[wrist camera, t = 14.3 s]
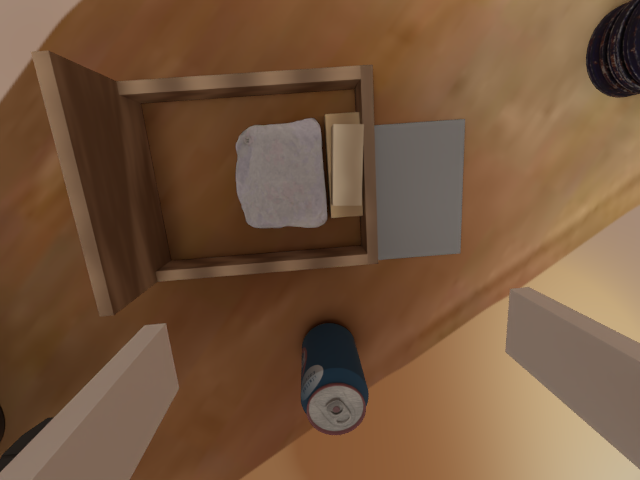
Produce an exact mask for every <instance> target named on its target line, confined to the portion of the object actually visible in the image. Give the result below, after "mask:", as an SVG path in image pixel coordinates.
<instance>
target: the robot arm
mask: <svg viewBox="0 0 640 480" xmlns="http://www.w3.org/2000/svg"><path fill="white" fill-rule="evenodd" d="M506 353H507V354H509V355H510V356H511V357H512V358H513V359H514V360H515V361H516V362H518V363H519V364H520V365H521V366H522V367H523V368H525V369H526V370H527V371H528V372H529V373H530V374H531V375H533V376H534V377H535V378H536V379H537V380H538V381H539V382H541V383H542V384H543V385H544V386H545V387H546V388H548V390H550V391H551V392H552V393H553V394H554V395H555V396H557V397H558V398H559V399H560V400H561V401H562V402H563V403H565V404H566V405H567V406H568V407H569V408H570V409H571V410H573V411H574V412H575V413H576V414H577V415H578V416H579V417H581V418H582V419H583V420H584V421H585V422H586V423H587V424H589V425H590V426H591V427H592V428H593V429H594V430H595V431H597V432H598V433H599V434H600V435H601V436H602V437H604V438H605V439H606V440H607V441H608V442H609V443H610V444H611V445H613V446H614V447H615V448H616V449H617V450H618V451H619V452H621V453H622V454H623V455H624V456H625V457H626V458H627V459H629V460H630V461H631V462H632V463H633V464H634V465H636V466H637V467H638V468H639V469H640V343H638V342H636V341H634V340H632V339H630V338H628V337H626V336H624V335H622V334H620V333H618V332H616V331H614V330H612V329H610V328H608V327H606V326H605V325H602V324H601V323H598V322H596V321H595V320H593V319H591V318H589V317H587V316H585V315H583V314H580V313H579V312H577V311H575V310H573V309H571V308H569V307H567V306H565V305H563V304H561V303H559V302H557V301H555V300H553V299H551V298H549V297H547V296H545V295H543V294H541V293H539V292H537V291H535V290H533V289H531V288H529V287H525V288H515V289H510V296H509V310H508V324H507V338H506ZM178 389H179V385H178V380H177V375H176V370H175V366H174V361H173V356H172V351H171V346H170V341H169V336H168V331H167V326H166V323H163V324H153V325H144V326H143V327H142V328H141V329H140V330H139V331H138V332H137V334H136V335H135V336H134V337H133V338H132V339H131V340H130V341H129V342H128V343H127V344H126V345H125V346H124V347H123V348H122V349H121V350H120V351H119V352H118V353H117V354H116V355H115V356H114V357H113V358H112V359H111V360H110V361H109V362H108V363H107V364H106V365H105V366H104V367H103V368H102V369H101V370H100V371H99V372H98V373H97V374H96V375H95V376H94V377H93V378H92V379H91V380H90V381H89V382H88V383H87V384H86V385H85V387H84V388H83V389H82V390H81V391H80V392H79V393H78V394H77V395H76V396H75V397H74V398H73V399H72V400H71V401H70V402H69V403H68V404H67V405H66V406H65V407H64V408H63V409H62V410H61V411H60V412H59V413H58V414H57V415H56V416H55V417H53V418H47V419H45V420H44V421H43V422H41V423H40V424H38V425H37V426H35V427H34V428H32V429H31V430H29V431H28V432H27V433H25V434H24V435H22V436H21V437H20V438H19V439H18V440H17V441H16V442H15V443H14V444H13V445H12V446H11V447H10V448H9V449H8V450H7V451H6V452H5V453H4V454H3V455H2V457H1V459H0V480H130V478H131V476H132V474H133V473H134V471H135V469H136V467H137V465H138V463H139V461H140V460H141V458H142V456H143V454H144V452H145V450H146V448H147V447H148V445H149V443H150V441H151V439H152V437H153V436H154V434H155V432H156V430H157V428H158V426H159V424H160V423H161V421H162V419H163V417H164V415H165V413H166V411H167V410H168V408H169V406H170V404H171V402H172V400H173V398H174V397H175V395H176V393H177V391H178ZM3 433H4V417H3V413H2V411H1V408H0V441H1V439H2V436H3Z"/></svg>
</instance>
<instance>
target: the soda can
mask: <svg viewBox="0 0 640 480" xmlns="http://www.w3.org/2000/svg"><path fill="white" fill-rule="evenodd" d="M367 402H368V388H367V385H366V381H365V377H364V374H363V370H362V366H361V363H360V359H359V355H358V352H357V348H356V344H355V341H354V338H353V336H352V334H351V333H350V332H349V331H348V330H347V329H346V328H344V327H343V326H341V325H338V324H334V323H325V324H321V325H318V326H316V327H314V328H313V329H311V330H310V331H309V332H308V333H307V335H306V336H305V338H304V340H303V344H302V372H301V404H302V407H303V409H304V411H305V413H306V414H307V417H308V420H309V422H310V423H311V424H312V426H313V427H314V428H316V429H317V430H318V431H320V432H322V433H325V434H329V435H341V434H345V433H348V432H350V431H352V430H354V429H355V428H356V427H357V426H358V425H359V424H360V423H361V422H362V420H363V418H364V416H365V412H366V405H367Z"/></svg>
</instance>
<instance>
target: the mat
mask: <svg viewBox="0 0 640 480" xmlns="http://www.w3.org/2000/svg"><path fill="white" fill-rule="evenodd" d="M374 132H375V166H376V200H377V235H378V260H383V259H396V258H408V257H420V256H432V255H445V254H457V253H460V247H461V218H462V190H463V161H464V133H465V119H459V120H444V121H430V122H416V123H402V124H388V125H374Z"/></svg>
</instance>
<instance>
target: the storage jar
mask: <svg viewBox="0 0 640 480" xmlns="http://www.w3.org/2000/svg"><path fill="white" fill-rule="evenodd" d="M586 66H587V72H588V75H589V77H590V80H591V81H592V83H593V85H594V86H595V87H596V88H597V89H598V90H599V91H601V92H602V93H604V94H606V95H608V96H612V97H627V96H631V95H635V94H640V0H631V1H630V2H628V3H625V4H623V5H621V6H619V7H617V8H616V9H614V10H612V11H611V12H610V13H609V14H607V15H606V16H605V17H604V18H603V19H602V20H601V22H600V23H599V24H598V26H597V27H596V28H595V30H594V32H593V34H592V36H591V39H590V41H589V44H588V48H587V55H586Z"/></svg>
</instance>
